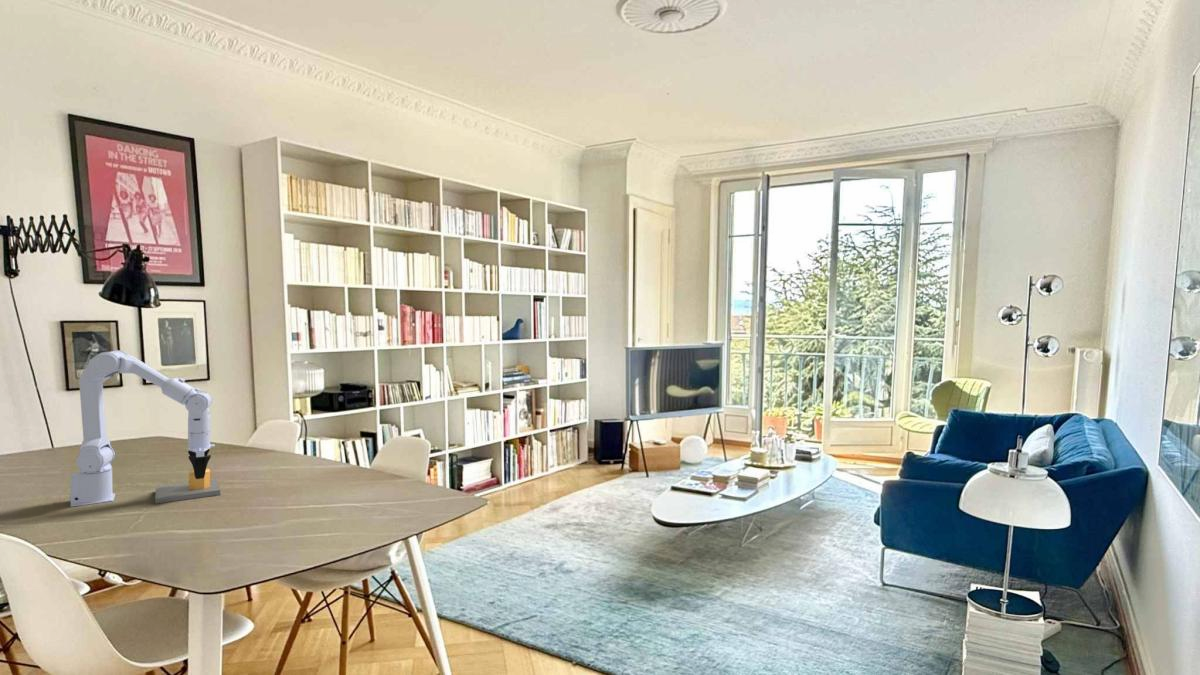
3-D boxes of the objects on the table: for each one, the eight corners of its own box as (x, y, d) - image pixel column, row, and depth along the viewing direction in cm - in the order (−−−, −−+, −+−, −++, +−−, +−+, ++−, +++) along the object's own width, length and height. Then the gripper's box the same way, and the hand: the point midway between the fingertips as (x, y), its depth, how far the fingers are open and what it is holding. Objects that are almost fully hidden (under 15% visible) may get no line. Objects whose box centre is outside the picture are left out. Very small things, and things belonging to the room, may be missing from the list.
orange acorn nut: (189, 490, 184) (188, 474, 184) (189, 486, 188) (188, 470, 188) (210, 487, 187) (210, 471, 187) (209, 483, 191) (209, 467, 191)
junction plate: (155, 503, 176) (155, 488, 175) (156, 491, 187) (155, 477, 187) (220, 494, 185) (220, 480, 185) (217, 483, 196) (217, 470, 196)
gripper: (215, 434, 183) (216, 479, 184) (213, 426, 195) (213, 468, 196) (187, 436, 179) (187, 482, 180) (186, 428, 191) (186, 471, 192)
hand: (199, 475), depth 187 cm, fingers open, 7 cm apart
